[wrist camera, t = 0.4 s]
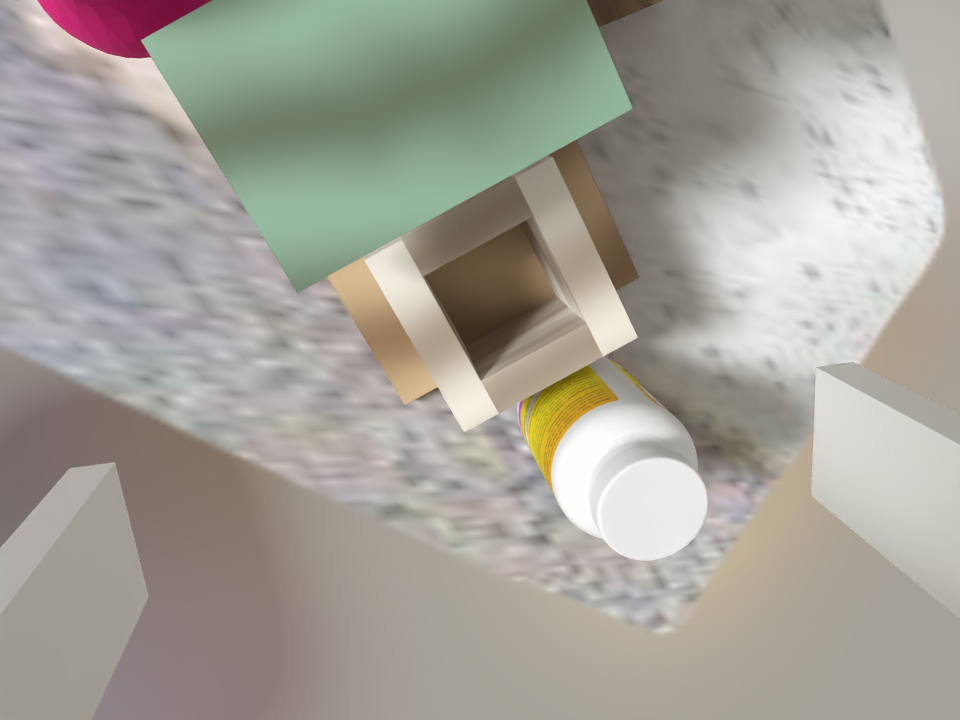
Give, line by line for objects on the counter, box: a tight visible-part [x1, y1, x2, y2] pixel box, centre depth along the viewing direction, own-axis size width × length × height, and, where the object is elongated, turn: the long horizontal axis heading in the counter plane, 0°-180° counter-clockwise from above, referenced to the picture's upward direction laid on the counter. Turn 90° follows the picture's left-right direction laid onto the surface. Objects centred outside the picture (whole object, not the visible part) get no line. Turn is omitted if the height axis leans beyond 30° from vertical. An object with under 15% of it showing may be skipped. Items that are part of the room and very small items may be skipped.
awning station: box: [141, 0, 639, 432], centre depth 33 cm, size 19×14×13 cm
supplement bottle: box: [517, 355, 708, 561], centre depth 38 cm, size 7×7×13 cm
